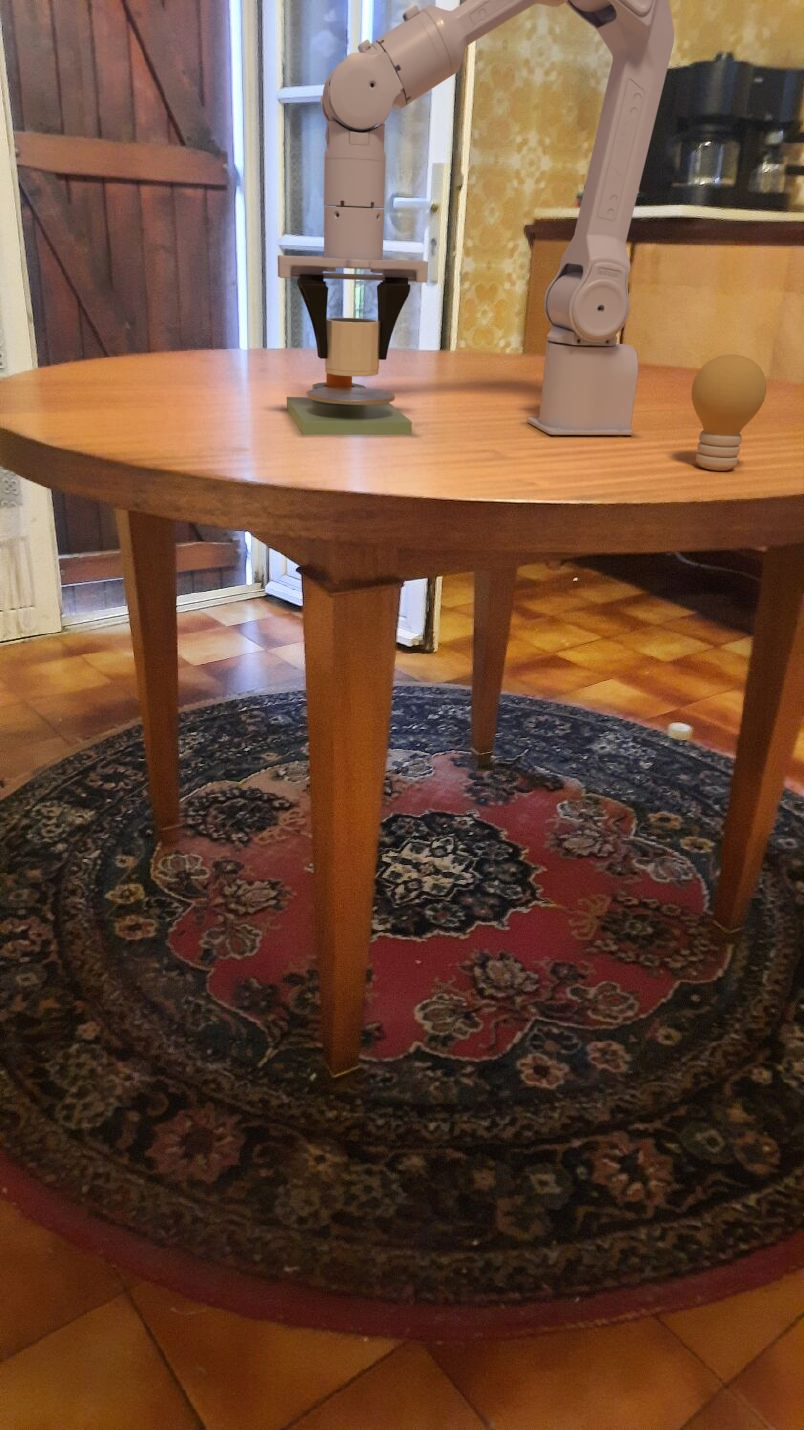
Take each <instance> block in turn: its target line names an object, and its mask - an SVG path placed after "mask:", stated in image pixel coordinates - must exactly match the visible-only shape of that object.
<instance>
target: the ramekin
mask: <svg viewBox="0 0 804 1430" xmlns="http://www.w3.org/2000/svg"><path fill="white" fill-rule="evenodd" d="M326 324H327V344H328V354H327V359H324V372H325V374H326V373H328V374H333V375H340V376H352V377H373V376H377V375H379V369H380V360H379V348H380V321H378V319H374V318H373V319H372V318H361V317H327V322H326Z"/></svg>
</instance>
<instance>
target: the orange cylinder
mask: <svg viewBox="0 0 804 1430" xmlns="http://www.w3.org/2000/svg"><path fill="white" fill-rule="evenodd" d="M325 375H326V376H325V379H326V380H325V382H326V387H352V383H353V376H340V375H333V374H328V373H326V372H325Z"/></svg>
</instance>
